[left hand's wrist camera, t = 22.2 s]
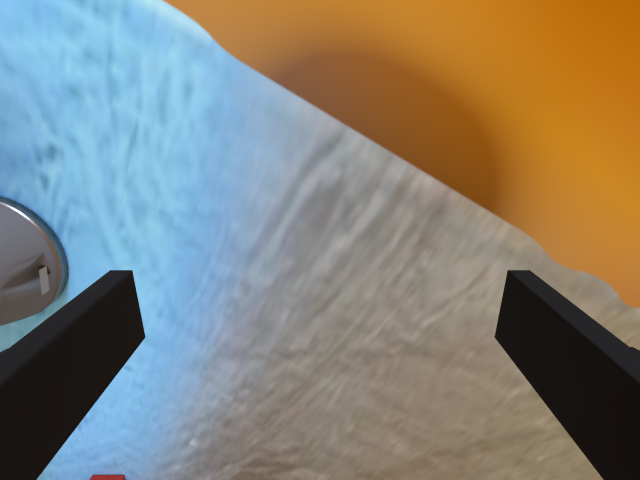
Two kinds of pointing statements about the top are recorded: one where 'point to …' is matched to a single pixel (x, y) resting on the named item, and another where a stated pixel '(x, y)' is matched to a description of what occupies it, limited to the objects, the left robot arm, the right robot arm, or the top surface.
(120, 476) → the brick
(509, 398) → the top surface
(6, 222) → the left robot arm
